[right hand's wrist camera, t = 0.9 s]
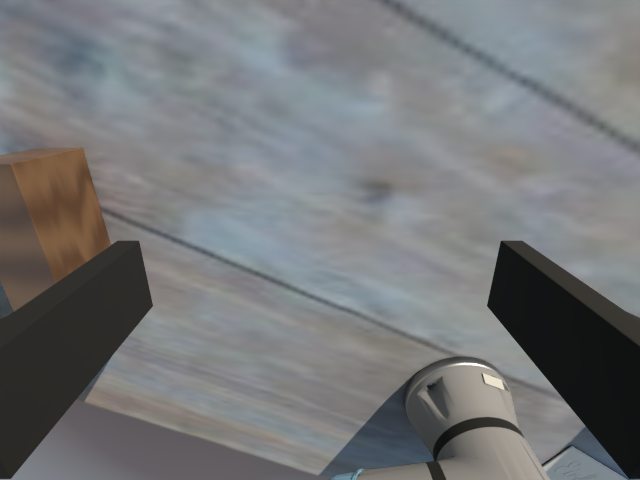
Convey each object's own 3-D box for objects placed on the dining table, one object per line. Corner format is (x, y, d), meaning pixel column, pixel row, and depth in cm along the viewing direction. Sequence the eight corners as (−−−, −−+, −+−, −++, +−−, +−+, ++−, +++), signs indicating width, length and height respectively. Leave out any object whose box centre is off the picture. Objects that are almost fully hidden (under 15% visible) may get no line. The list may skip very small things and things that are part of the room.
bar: (133, 321, 47) (90, 374, 38) (93, 322, 47) (41, 375, 38) (82, 147, 38) (10, 163, 29) (33, 149, 38) (-53, 165, 29)
